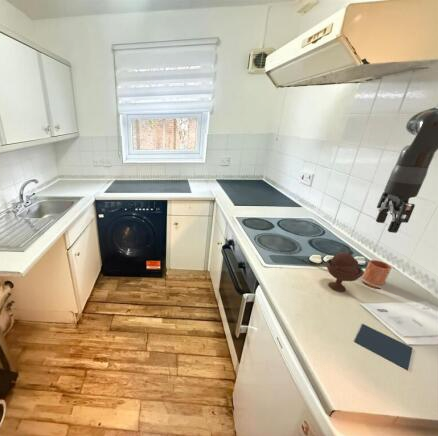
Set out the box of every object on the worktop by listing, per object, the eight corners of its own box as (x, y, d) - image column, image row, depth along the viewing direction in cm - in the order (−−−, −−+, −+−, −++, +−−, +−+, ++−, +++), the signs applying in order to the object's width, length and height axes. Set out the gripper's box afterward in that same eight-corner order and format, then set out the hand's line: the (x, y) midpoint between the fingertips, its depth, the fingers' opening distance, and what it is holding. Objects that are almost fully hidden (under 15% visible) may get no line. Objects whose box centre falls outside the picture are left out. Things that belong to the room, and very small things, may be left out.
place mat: (412, 348, 67) (412, 347, 67) (407, 370, 61) (408, 369, 61) (362, 324, 74) (362, 323, 74) (354, 341, 69) (354, 341, 69)
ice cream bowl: (354, 301, 84) (369, 265, 78) (316, 287, 91) (328, 253, 85) (356, 287, 91) (370, 253, 85) (321, 275, 98) (332, 243, 92)
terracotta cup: (383, 284, 92) (392, 265, 89) (380, 291, 89) (390, 271, 85) (363, 277, 97) (371, 258, 93) (359, 283, 93) (367, 263, 90)
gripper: (437, 186, 67) (412, 237, 73) (408, 176, 79) (389, 220, 85) (402, 184, 69) (381, 233, 76) (379, 174, 81) (363, 217, 88)
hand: (385, 226), depth 80 cm, fingers open, 8 cm apart
